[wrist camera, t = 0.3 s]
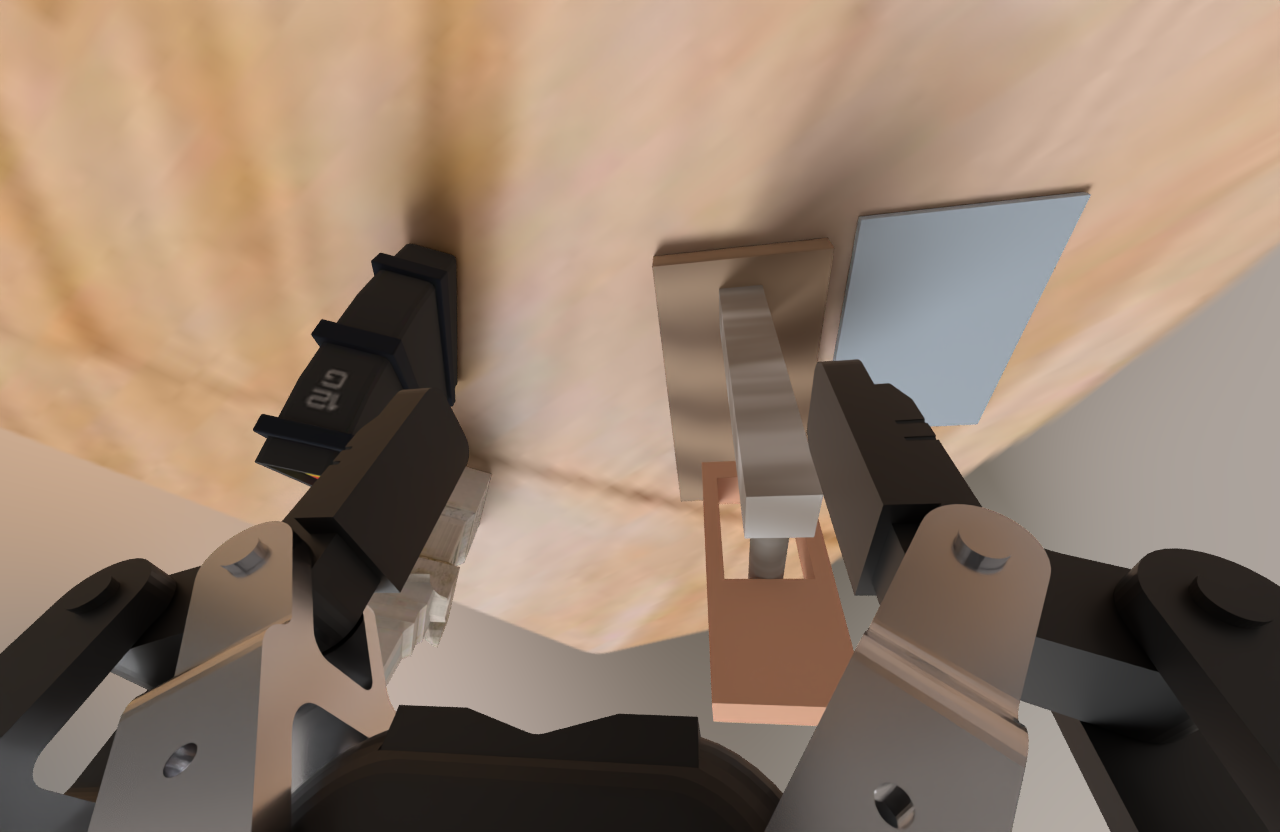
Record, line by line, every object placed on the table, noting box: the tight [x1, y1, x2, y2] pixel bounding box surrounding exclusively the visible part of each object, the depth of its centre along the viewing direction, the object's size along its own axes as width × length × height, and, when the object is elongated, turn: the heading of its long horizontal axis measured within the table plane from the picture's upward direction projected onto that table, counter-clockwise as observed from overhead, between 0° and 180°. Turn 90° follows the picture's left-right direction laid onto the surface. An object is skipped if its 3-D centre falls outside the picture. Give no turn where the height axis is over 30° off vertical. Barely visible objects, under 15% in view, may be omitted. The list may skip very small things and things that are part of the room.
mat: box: [833, 192, 1091, 426], centre depth 29 cm, size 16×11×1 cm
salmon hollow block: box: [702, 461, 854, 726], centre depth 22 cm, size 2×6×12 cm, turn 98°
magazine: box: [253, 244, 457, 487], centre depth 27 cm, size 4×13×15 cm, turn 165°
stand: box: [652, 238, 834, 579], centre depth 27 cm, size 22×10×17 cm, turn 8°
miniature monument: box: [368, 467, 491, 686], centre depth 33 cm, size 10×10×30 cm
